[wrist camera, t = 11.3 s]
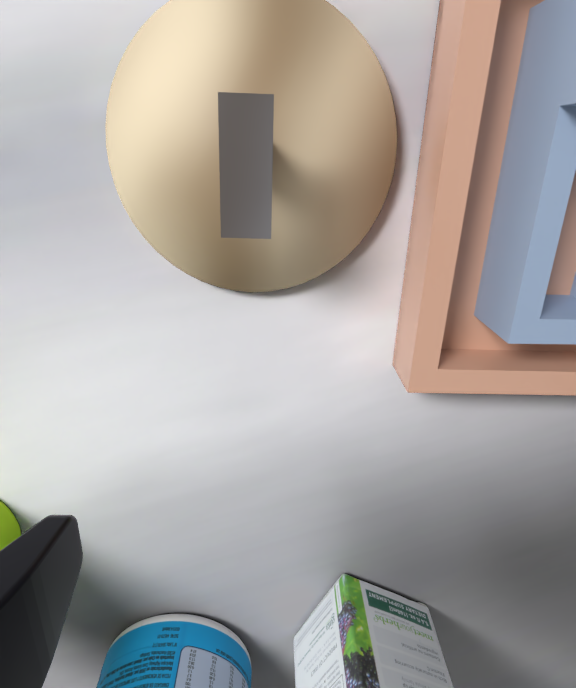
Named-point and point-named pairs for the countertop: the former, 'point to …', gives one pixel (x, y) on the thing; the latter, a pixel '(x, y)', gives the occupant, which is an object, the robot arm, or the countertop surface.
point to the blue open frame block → (534, 188)
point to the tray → (471, 217)
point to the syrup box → (368, 641)
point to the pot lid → (251, 139)
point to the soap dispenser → (8, 526)
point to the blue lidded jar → (176, 655)
